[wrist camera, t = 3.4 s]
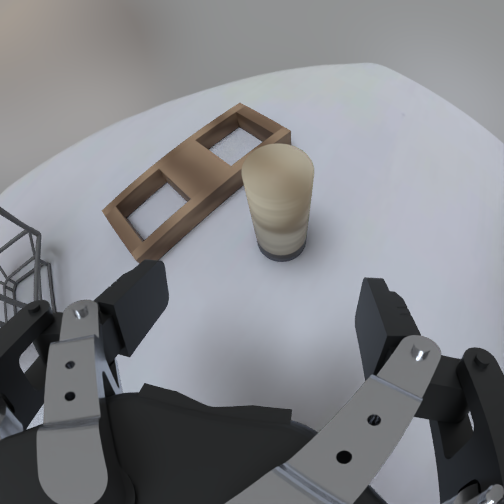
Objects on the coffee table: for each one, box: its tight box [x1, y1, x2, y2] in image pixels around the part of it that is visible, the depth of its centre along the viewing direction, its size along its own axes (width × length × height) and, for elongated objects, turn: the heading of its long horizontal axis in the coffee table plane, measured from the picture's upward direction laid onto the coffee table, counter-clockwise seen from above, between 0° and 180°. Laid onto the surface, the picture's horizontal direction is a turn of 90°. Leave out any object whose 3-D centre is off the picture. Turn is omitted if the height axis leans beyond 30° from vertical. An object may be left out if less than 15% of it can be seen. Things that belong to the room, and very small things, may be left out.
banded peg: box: [242, 144, 314, 262], centre depth 21 cm, size 4×4×10 cm
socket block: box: [102, 103, 291, 263], centre depth 28 cm, size 20×8×2 cm, turn 134°
